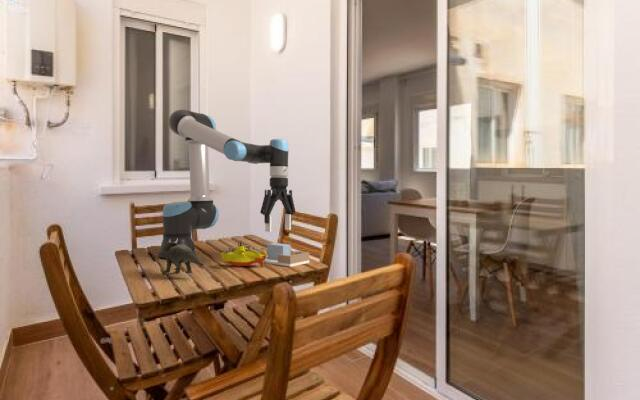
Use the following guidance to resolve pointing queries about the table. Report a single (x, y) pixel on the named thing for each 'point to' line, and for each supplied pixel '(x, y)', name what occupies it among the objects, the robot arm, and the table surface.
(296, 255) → the jig
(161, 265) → the table surface
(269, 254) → the block
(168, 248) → the dinosaur figurine
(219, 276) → the table surface
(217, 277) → the table surface
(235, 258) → the toy boat
